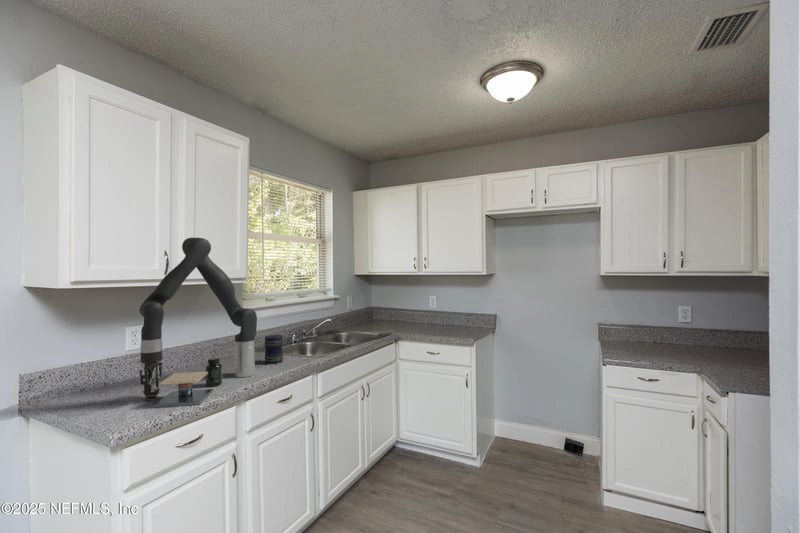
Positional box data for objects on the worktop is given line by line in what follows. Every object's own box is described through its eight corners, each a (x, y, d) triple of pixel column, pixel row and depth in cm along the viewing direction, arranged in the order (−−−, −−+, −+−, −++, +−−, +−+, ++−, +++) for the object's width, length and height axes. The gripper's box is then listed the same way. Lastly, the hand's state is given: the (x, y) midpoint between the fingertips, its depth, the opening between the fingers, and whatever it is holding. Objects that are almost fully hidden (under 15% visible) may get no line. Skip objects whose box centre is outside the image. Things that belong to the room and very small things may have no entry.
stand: (172, 394, 161) (172, 372, 161) (212, 391, 163) (212, 370, 164) (154, 407, 145) (154, 383, 145) (199, 404, 148) (199, 381, 148)
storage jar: (263, 361, 218) (263, 335, 218) (281, 360, 222) (281, 334, 222) (265, 365, 209) (265, 338, 209) (284, 363, 213) (284, 337, 213)
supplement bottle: (225, 382, 177) (225, 357, 177) (216, 387, 170) (216, 360, 170) (211, 382, 178) (211, 356, 178) (202, 387, 171) (202, 360, 171)
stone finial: (163, 396, 158) (163, 367, 158) (154, 401, 152) (154, 371, 152) (148, 396, 158) (148, 367, 158) (139, 401, 152) (139, 371, 152)
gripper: (153, 353, 149) (153, 396, 149) (169, 346, 163) (169, 385, 163) (131, 354, 148) (131, 397, 147) (150, 347, 162) (150, 386, 162)
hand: (151, 391), depth 155 cm, fingers closed on stone finial, 6 cm apart
